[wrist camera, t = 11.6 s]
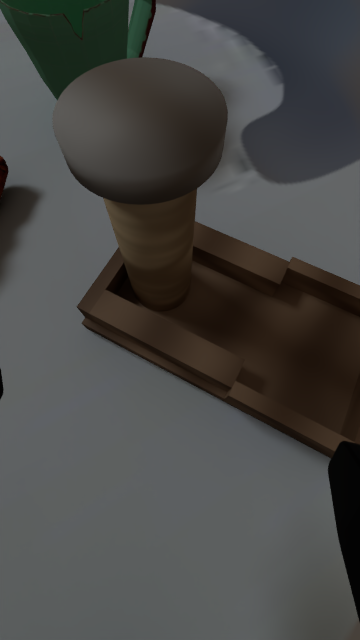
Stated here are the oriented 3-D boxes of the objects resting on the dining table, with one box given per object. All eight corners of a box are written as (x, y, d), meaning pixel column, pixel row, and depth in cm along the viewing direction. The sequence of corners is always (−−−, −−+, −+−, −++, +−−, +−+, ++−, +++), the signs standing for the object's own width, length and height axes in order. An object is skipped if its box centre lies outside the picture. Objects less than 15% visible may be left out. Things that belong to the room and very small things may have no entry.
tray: (383, 323, 23) (412, 307, 20) (340, 462, 20) (366, 468, 17) (156, 222, 26) (153, 197, 23) (85, 327, 23) (72, 312, 20)
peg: (167, 339, 21) (151, 209, 9) (104, 291, 23) (15, 121, 10) (217, 278, 23) (261, 101, 11) (156, 237, 25) (132, 38, 12)
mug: (98, 162, 29) (59, 33, 19) (28, 119, 31) (-39, -17, 21) (189, 82, 33) (193, -58, 23) (122, 48, 35) (100, -92, 26)
